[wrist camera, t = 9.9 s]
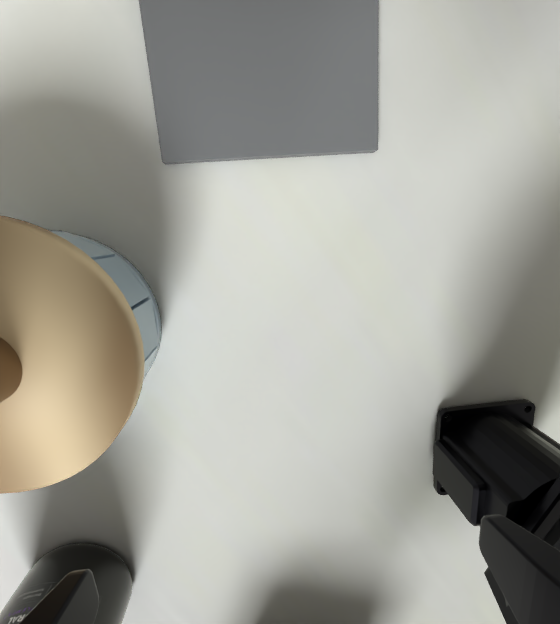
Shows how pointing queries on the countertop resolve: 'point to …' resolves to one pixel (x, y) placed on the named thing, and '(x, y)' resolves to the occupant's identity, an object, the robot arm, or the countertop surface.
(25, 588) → the supplement bottle
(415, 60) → the countertop surface
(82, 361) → the lid
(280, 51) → the mat
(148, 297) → the bowl
